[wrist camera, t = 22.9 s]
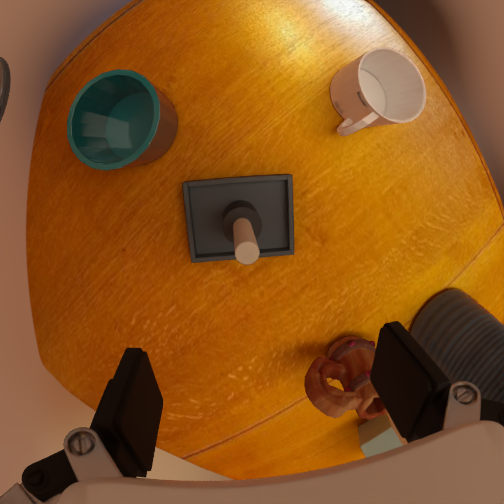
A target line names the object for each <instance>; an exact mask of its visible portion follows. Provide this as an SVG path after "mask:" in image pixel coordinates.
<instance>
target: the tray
mask: <svg viewBox="0 0 504 504" xmlns="http://www.w3.org/2000/svg"><path fill="white" fill-rule="evenodd" d="M183 194H184V204H185V213H186V222H187V230H188V238H189V246H190V254H191V262H192V263H195V262H208V261H221V260H233V259H236V257H235V248H234V244H233V243H231V242H230V241H229V240H227V238H226V237H225V235H224V233H223V229H222V223H223V214H224V211H225V209H226V207H227V206H228V205H229V204H230V203H232V202H234V201H238V200H244V201H247V202H249V203H251V204H252V205H253V206H254V207H255V209H256V210H257V212H258V214H259V216H260V219H261V222H262V230H261V233H260V235H259V237H258V238H257V239H256V241H257V244H258V248H259V251H260V254H259V257H270V256H282V255H294V215H293V182H292V175H291V174H274V175H255V176H240V177H227V178H215V179H204V180H194V181H185V182H183Z"/></svg>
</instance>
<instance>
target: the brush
mask: <svg viewBox="0 0 504 504" xmlns="http://www.w3.org/2000/svg"><path fill="white" fill-rule="evenodd" d="M222 229H223V233H224V235H225V237H226V238H227V240H229V241H230V242H231V243H233V244H234V248H235V257H236V259H237V260H238V261H239V262H240V263H242V264H245V265H249V264H252V263H254V262H255V261H256V260H257V259H258V257H259V254H260V251H259V248H258V244H257V241H256V239H257V238H258V237H259V235H260V233H261V230H262V222H261V219H260V216H259V214H258V212H257V210H256V209H255V207H254V206H253V205H252V204H251V203H249V202H247V201H244V200H238V201H234V202H232V203H230V204H229V205H228V206H227V207H226V209H225V211H224V214H223V223H222Z"/></svg>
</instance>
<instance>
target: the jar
mask: <svg viewBox="0 0 504 504" xmlns="http://www.w3.org/2000/svg"><path fill="white" fill-rule="evenodd" d="M177 128H178V118H177V113H176V110H175V108H174V106H173V104H172V102H171V101H170V100H169V99H168V98H167V97H166V96H165V95H164V94H163V93H162V92H161V91H160V90H159V89H158V88H157V87H156V86H154V85H153V84H152V83H151V82H150V81H149V80H148V79H147V78H146V77H144V76H143V75H141V74H139V73H136V72H134V71H132V70H120V69H117V70H112V71H109V72H105V73H102V74H100V75H99V76H97V77H95V78H94V79H92V80H90V81H89V82H88V83H87V84H86V85H85V86H84V87H83V88H82V89H81V91H80V92H79V93H78V94H77V96H76V98H75V100H74V102H73V103H72V105H71V108H70V111H69V116H68V120H67V137H68V140H69V143H70V146H71V149H72V150H73V152H74V153H75V155H76V156H77V157H78V158H79V160H80V161H81V162H83V163H84V164H86V165H88V166H90V167H91V168H94V169H100V170H113V169H119V168H126V167H133V166H139V165H146V164H148V163H151V162H153V161H155V160H157V159H158V158H160V157H161V156H162V155H164V154H165V153H166V151H167V150H168V149H169V148H170V146H171V145H172V143H173V141H174V139H175V136H176V133H177Z"/></svg>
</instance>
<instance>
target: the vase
mask: <svg viewBox="0 0 504 504" xmlns="http://www.w3.org/2000/svg"><path fill="white" fill-rule="evenodd" d="M410 335H411V336H412V337H413V338H414V339H415V340H416V341H417V342H418V344H419V345H420V346H421V347H422V348H423V349H424V350H425V352H426V353H427V354H428V355H429V356H430V357H431V358H432V360H433V361H434V362H435V363H436V364H437V366H438V367H439V368H440V369H441V370H442V371H443V373H444V374H445V375H446V376H447V377H448V379H449V380H450V381H449V383H450V384H451V385H453V384H454V383H456V382H459V381H467V382H470V383H472V384H474V385H475V386H476V387H477V388H478V389H479V391H480V393H481V398H484V399H488V400H493V401H498V402H503V403H504V325H503V324H502V323H501V322H499V321H498V320H497V319H496V318H495V317H494V316H493V315H492V314H490V312H489V311H487V310H486V309H485V308H484V307H483V306H481V305H480V304H479V303H478V302H476V301H475V300H474V299H473V298H471V297H470V296H469V295H468V294H467V293H465V292H464V291H462V290H459V289H451V290H447V291H444V292H442V293H440V294H439V295H437V296H435V297H434V298H433V299H432V300H430V301H429V302H428V303H427V304H426V305H425V306H424V308H423V309H422V310H421V312H420V313H419V314H418V316H417V318H416V319H415V321H414V323H413V326H412V328H411V331H410Z"/></svg>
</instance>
